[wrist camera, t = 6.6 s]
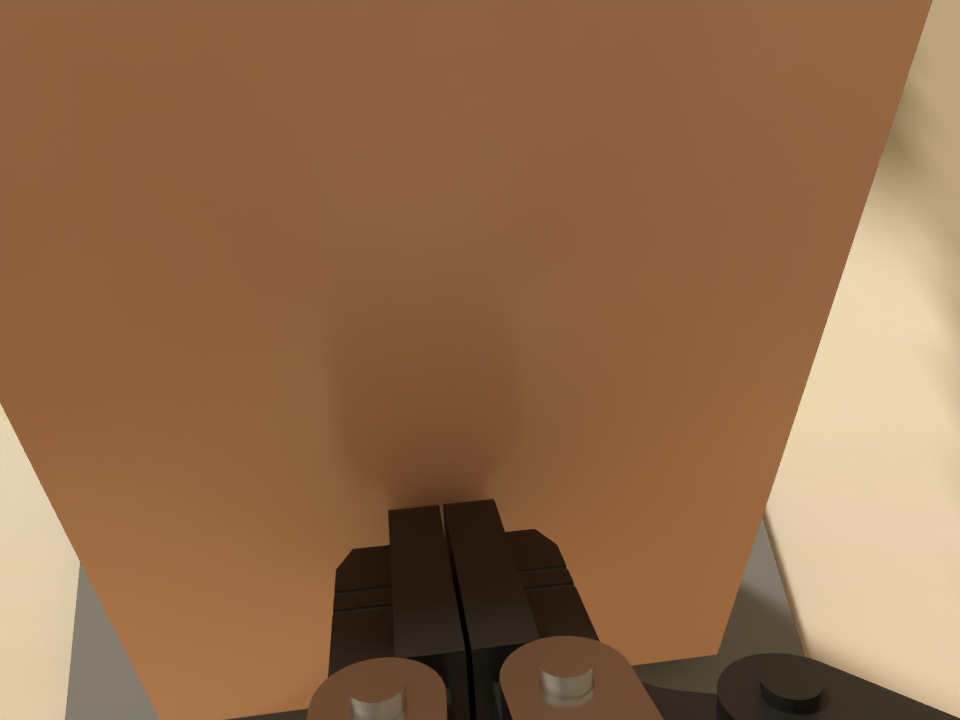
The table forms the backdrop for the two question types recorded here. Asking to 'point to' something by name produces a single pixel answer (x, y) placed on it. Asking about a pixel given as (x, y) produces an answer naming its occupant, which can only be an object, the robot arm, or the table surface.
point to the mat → (131, 716)
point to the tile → (419, 295)
